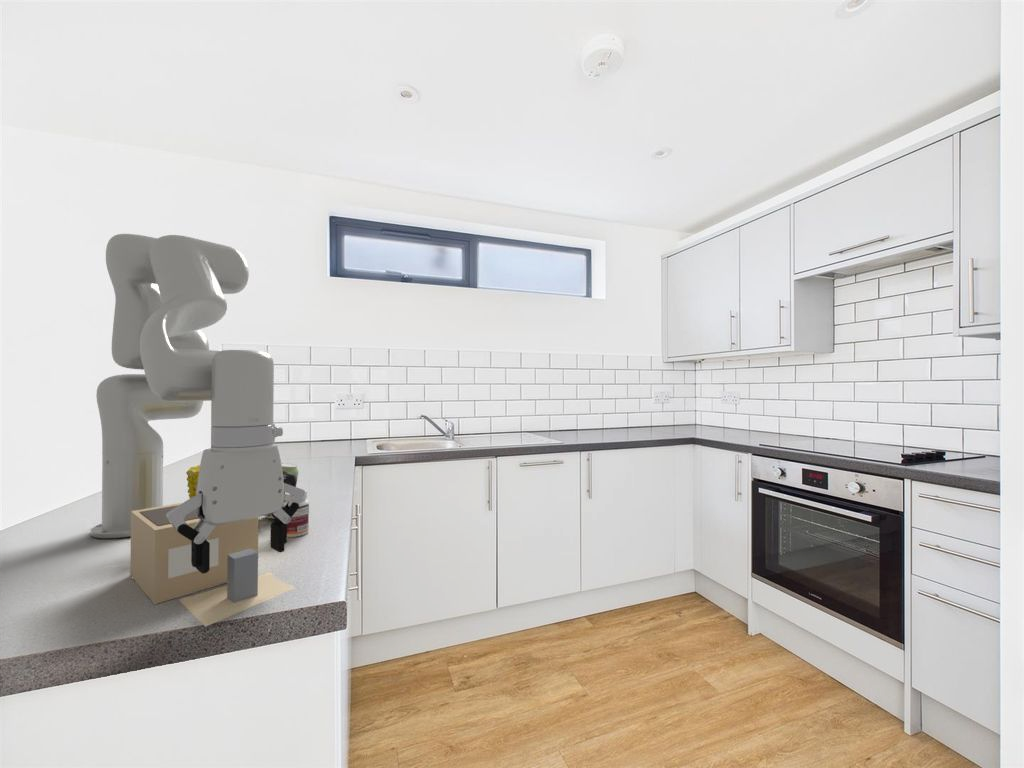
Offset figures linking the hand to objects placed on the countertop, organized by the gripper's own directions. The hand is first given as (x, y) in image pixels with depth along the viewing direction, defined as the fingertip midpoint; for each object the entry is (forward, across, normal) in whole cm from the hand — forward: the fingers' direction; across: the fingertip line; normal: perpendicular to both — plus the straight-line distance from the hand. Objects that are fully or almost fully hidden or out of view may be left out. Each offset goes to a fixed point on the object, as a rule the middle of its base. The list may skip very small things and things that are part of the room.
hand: (242, 559), depth 63 cm
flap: (+6, 0, 0) cm, 6 cm away
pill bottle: (+5, -17, -20) cm, 27 cm away
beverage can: (+5, -20, -34) cm, 40 cm away
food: (+5, -7, -32) cm, 33 cm away
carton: (+5, +2, -13) cm, 14 cm away
